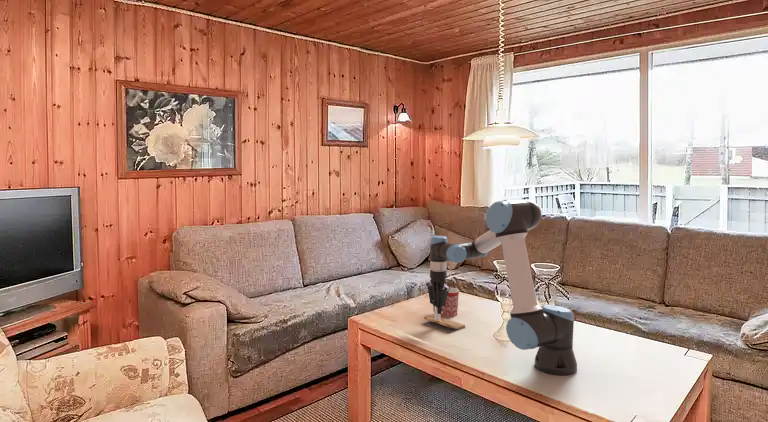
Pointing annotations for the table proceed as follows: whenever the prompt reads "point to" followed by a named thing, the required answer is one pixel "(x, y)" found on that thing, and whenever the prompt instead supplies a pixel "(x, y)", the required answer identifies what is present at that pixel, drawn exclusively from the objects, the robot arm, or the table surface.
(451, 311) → the mug
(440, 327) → the floor panel
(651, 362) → the table surface
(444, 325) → the plank
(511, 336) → the robot arm
